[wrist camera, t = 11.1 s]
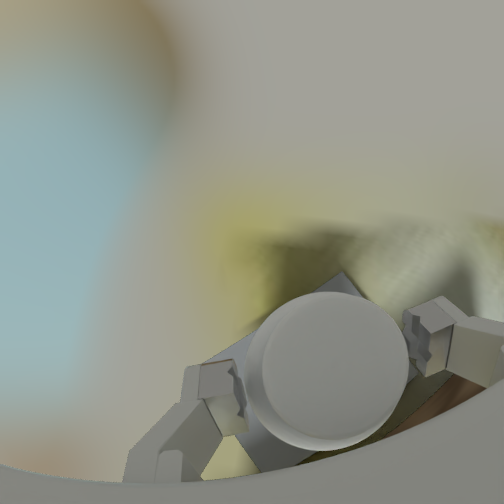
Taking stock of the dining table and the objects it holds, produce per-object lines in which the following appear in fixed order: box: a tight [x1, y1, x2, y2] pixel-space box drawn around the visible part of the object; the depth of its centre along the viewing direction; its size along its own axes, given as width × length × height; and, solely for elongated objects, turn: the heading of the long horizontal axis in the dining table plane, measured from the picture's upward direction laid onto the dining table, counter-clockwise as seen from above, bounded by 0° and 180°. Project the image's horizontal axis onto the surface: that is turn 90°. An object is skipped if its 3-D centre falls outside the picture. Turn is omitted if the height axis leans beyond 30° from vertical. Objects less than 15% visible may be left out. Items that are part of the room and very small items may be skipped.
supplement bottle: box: [244, 292, 409, 451], centre depth 12 cm, size 6×6×10 cm
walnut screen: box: [381, 374, 487, 440], centre depth 13 cm, size 24×2×7 cm, turn 123°
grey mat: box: [202, 272, 419, 473], centre depth 19 cm, size 12×9×1 cm
